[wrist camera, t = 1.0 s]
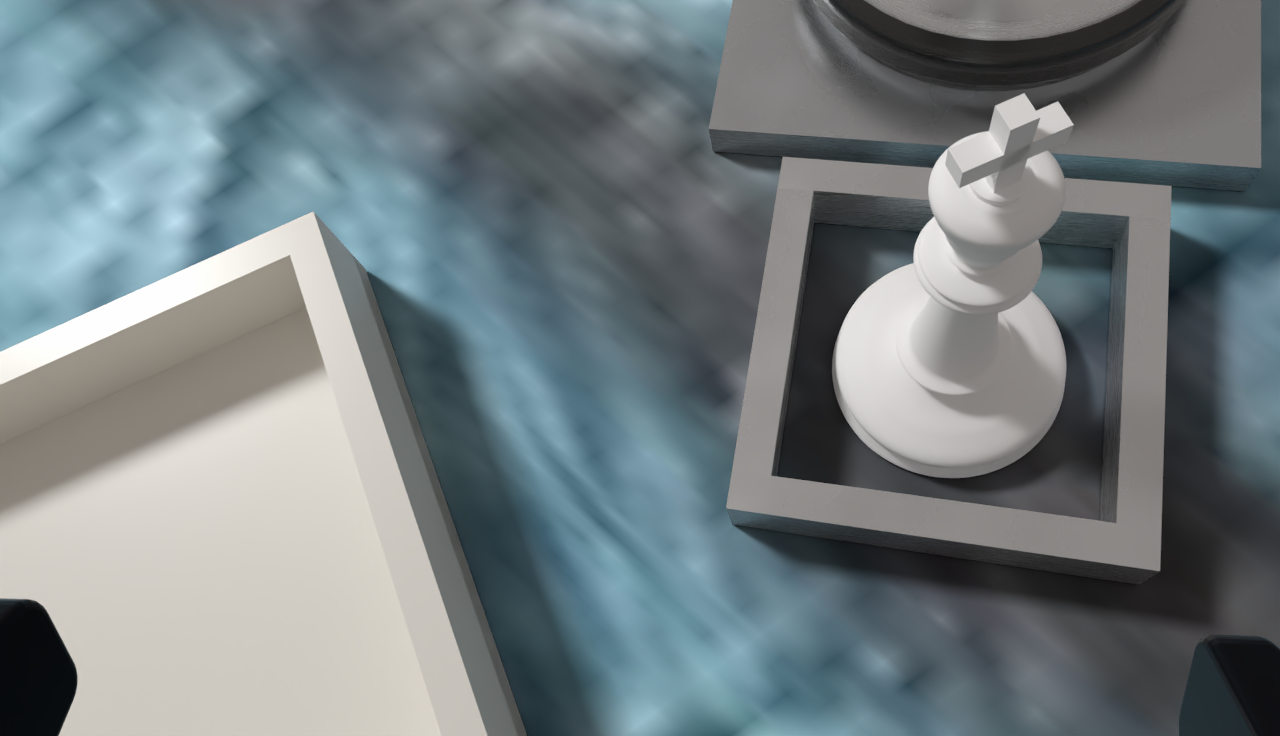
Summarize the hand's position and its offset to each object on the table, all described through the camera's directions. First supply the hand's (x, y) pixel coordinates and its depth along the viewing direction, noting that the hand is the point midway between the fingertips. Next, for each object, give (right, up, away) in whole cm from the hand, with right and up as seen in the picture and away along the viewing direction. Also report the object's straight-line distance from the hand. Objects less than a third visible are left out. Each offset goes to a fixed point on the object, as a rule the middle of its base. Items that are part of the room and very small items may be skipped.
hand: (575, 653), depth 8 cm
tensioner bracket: (+8, +8, +18) cm, 21 cm away
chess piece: (+7, +2, +16) cm, 17 cm away
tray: (-10, -4, +16) cm, 20 cm away
